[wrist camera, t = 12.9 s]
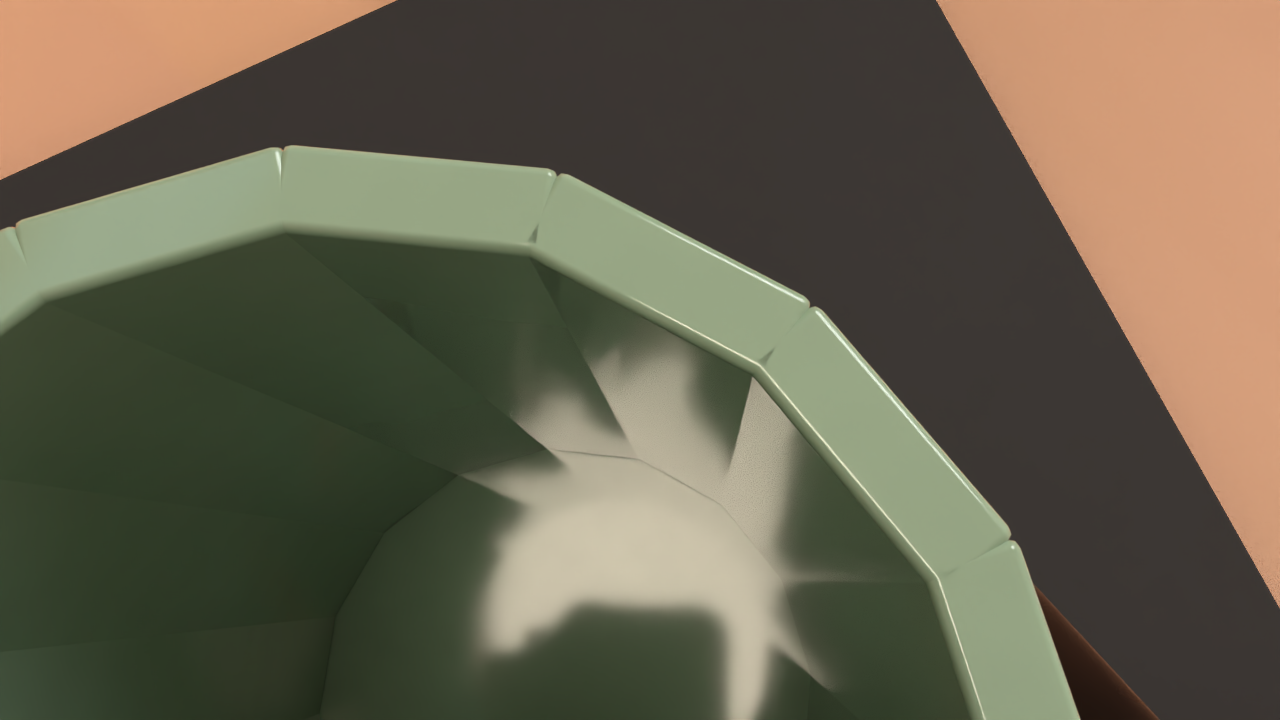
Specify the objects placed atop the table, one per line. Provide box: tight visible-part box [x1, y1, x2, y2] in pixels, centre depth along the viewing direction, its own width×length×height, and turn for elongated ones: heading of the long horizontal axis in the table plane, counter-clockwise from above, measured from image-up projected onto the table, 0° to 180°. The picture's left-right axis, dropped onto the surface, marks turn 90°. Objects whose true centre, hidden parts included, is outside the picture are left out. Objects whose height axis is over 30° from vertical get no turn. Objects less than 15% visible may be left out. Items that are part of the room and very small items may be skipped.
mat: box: [0, 0, 1280, 720], centre depth 16 cm, size 20×18×1 cm
